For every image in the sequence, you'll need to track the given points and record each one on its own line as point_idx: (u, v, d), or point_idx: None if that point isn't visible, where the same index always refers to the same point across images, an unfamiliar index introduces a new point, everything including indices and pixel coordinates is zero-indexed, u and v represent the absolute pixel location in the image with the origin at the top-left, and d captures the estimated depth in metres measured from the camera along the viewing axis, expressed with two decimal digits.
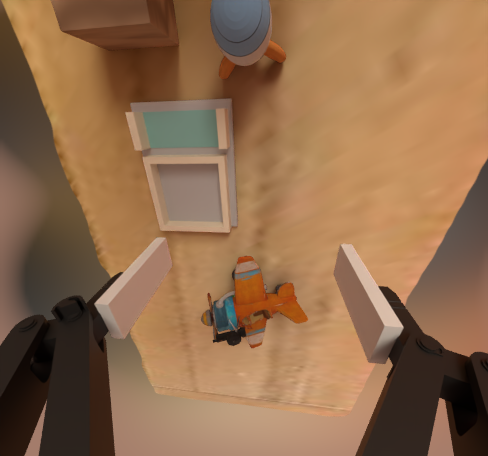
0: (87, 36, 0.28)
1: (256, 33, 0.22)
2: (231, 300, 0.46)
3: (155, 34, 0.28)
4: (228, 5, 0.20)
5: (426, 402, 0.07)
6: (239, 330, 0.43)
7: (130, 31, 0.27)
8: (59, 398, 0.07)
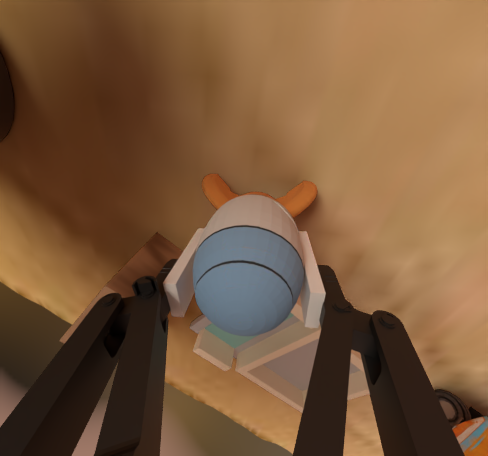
0: None
1: (295, 298, 0.10)
2: None
3: None
4: (231, 328, 0.10)
5: (343, 352, 0.08)
6: None
7: None
8: (126, 368, 0.08)
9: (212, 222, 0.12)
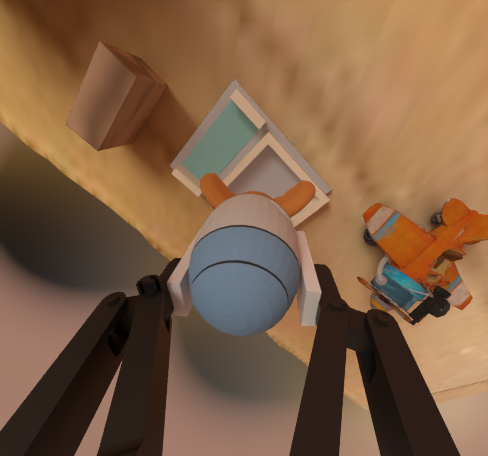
0: (113, 140, 0.32)
1: (290, 298, 0.10)
2: (391, 267, 0.35)
3: (146, 89, 0.29)
4: (226, 327, 0.10)
5: (339, 350, 0.08)
6: (435, 293, 0.30)
7: (131, 104, 0.29)
8: (129, 367, 0.08)
9: (208, 222, 0.12)
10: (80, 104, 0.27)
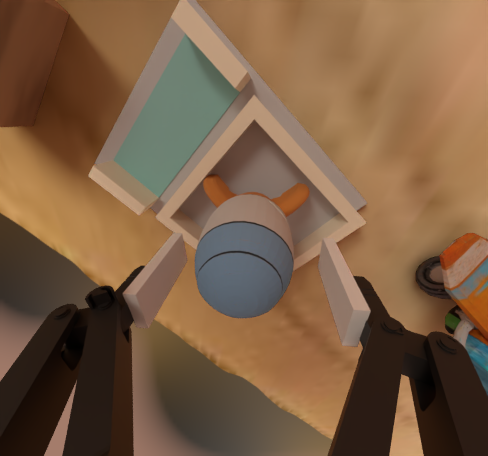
0: None
1: (284, 285, 0.12)
2: (481, 345, 0.19)
3: None
4: (228, 309, 0.11)
5: (391, 378, 0.07)
6: None
7: None
8: (87, 384, 0.07)
9: (213, 218, 0.14)
10: None
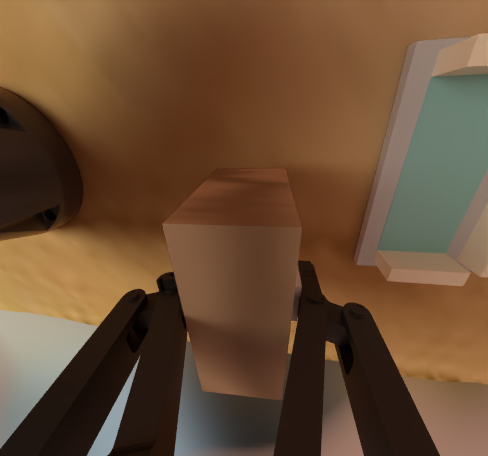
0: None
1: None
2: None
3: None
4: None
5: (318, 342, 0.08)
6: None
7: None
8: (147, 363, 0.08)
9: None
10: (206, 354, 0.11)
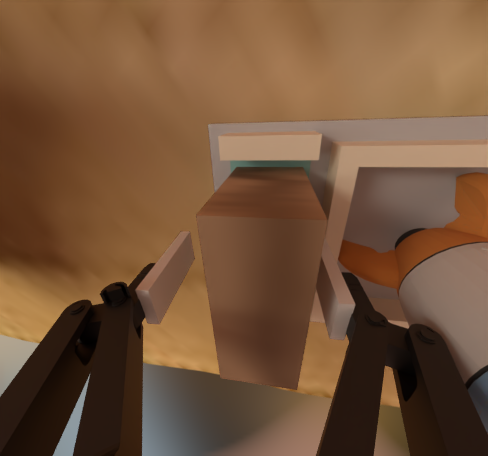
0: None
1: None
2: None
3: None
4: None
5: (375, 369, 0.07)
6: None
7: None
8: (99, 378, 0.08)
9: (443, 338, 0.09)
10: (227, 342, 0.12)
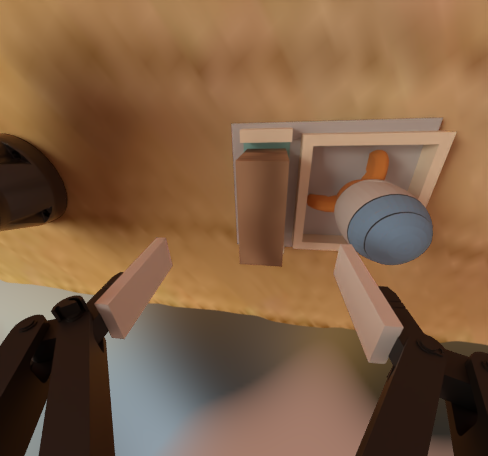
0: None
1: (428, 218, 0.16)
2: None
3: None
4: (403, 255, 0.16)
5: (426, 402, 0.07)
6: None
7: None
8: (59, 398, 0.07)
9: (342, 216, 0.20)
10: (245, 235, 0.23)
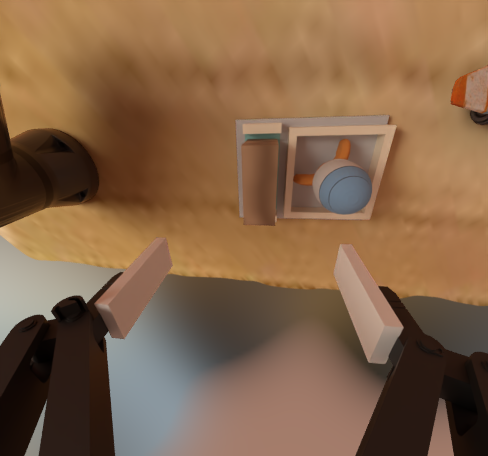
0: None
1: (368, 180, 0.25)
2: None
3: None
4: (352, 204, 0.25)
5: (426, 402, 0.07)
6: None
7: None
8: (59, 398, 0.07)
9: (316, 184, 0.29)
10: (247, 201, 0.32)
